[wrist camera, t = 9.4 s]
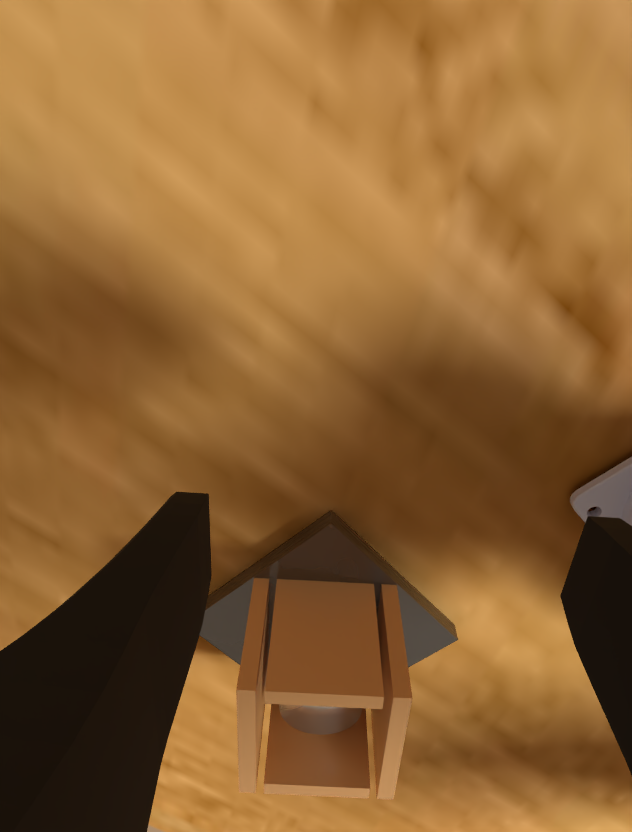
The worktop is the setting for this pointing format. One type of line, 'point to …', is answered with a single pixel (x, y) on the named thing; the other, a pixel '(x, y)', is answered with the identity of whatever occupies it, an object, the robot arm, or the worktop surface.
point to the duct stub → (334, 562)
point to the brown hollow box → (323, 687)
